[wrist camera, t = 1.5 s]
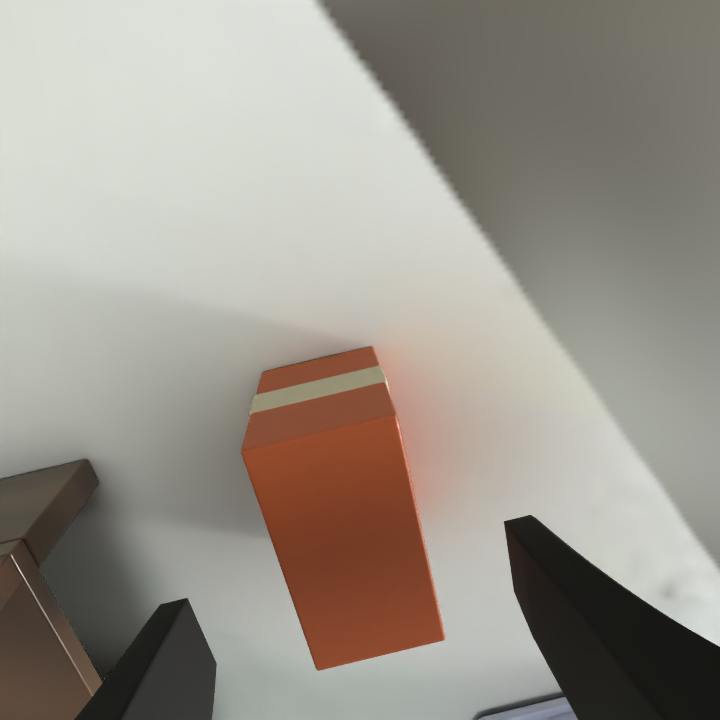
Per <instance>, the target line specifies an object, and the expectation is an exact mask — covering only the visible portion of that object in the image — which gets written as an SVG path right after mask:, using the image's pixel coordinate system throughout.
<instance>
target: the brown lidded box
mask: <svg viewBox="0 0 720 720" xmlns="http://www.w3.org/2000/svg"><path fill="white" fill-rule="evenodd" d="M97 485H98V481H97V479H96V477H95V475H94V473H93V470H92V468H91V466H90V464H89V462H88V460H86V459H85V460H81V461H77V462H73V463H69V464H64V465H60V466H56V467H52V468H48V469H43V470H39V471H35V472H31V473H27V474H22V475H18V476H14V477H10V478H6V479H2V480H0V720H74V719H75V718H76V717H77V715H78V714H79V713H80V712H81V710H82V709H83V708H84V707H85V705H86V704H87V703H88V702H89V700H90V699H91V698H92V696H93V695H94V694H95V692H96V691H97V690H98V688H99V687H100V686H101V684H102V683H103V682H102V681H101V679H100V677H99V675H98V674H97V672H96V670H95V668H94V666H93V665H92V663H91V661H90V659H89V658H88V656H87V654H86V652H85V650H84V649H83V647H82V645H81V643H80V642H79V640H78V638H77V636H76V634H75V633H74V631H73V629H72V627H71V625H70V624H69V622H68V620H67V618H66V617H65V615H64V613H63V611H62V609H61V608H60V606H59V604H58V602H57V601H56V599H55V597H54V595H53V593H52V592H51V590H50V588H49V586H48V585H47V583H46V581H45V579H44V577H43V576H42V574H41V572H40V570H39V569H38V567H39V566H41V564H42V563H43V561H44V560H45V559H46V557H47V556H48V554H49V553H50V552H51V550H52V549H53V547H54V546H55V544H56V543H57V542H58V540H59V539H60V537H61V536H62V535H63V533H64V532H65V530H66V529H67V528H68V526H69V525H70V523H71V522H72V520H73V519H74V518H75V516H76V515H77V513H78V512H79V511H80V509H81V508H82V506H83V505H84V504H85V502H86V501H87V499H88V498H89V496H90V495H91V494H92V492H93V491H94V489H95V488H96V487H97Z"/></svg>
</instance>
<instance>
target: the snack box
mask: <svg viewBox="0 0 720 720" xmlns="http://www.w3.org/2000/svg"><path fill="white" fill-rule="evenodd" d="M249 417H250V419H249V423H248V427H247V431H246V434H245V438H244V442H243V446H242V449H241V454H242V457H243V460H244V463H245V466H246V469H247V472H248V474H249V477H250V480H251V483H252V486H253V489H254V492H255V495H256V497H257V500H258V503H259V506H260V509H261V512H262V515H263V517H264V520H265V523H266V526H267V529H268V532H269V535H270V538H271V540H272V543H273V546H274V549H275V552H276V555H277V558H278V561H279V563H280V566H281V569H282V572H283V575H284V578H285V581H286V584H287V586H288V589H289V592H290V595H291V598H292V601H293V604H294V607H295V609H296V612H297V615H298V618H299V621H300V624H301V627H302V630H303V632H304V635H305V638H306V641H307V644H308V647H309V650H310V653H311V655H312V658H313V661H314V664H315V667H316V669H317V670H324V669H328V668H332V667H336V666H340V665H344V664H348V663H352V662H356V661H361V660H365V659H369V658H373V657H377V656H381V655H385V654H389V653H394V652H398V651H402V650H406V649H410V648H414V647H418V646H422V645H427V644H431V643H435V642H439V641H443V640H445V634H444V629H443V624H442V620H441V615H440V610H439V606H438V601H437V597H436V592H435V587H434V583H433V578H432V574H431V569H430V564H429V560H428V555H427V551H426V546H425V541H424V537H423V532H422V527H421V523H420V518H419V514H418V509H417V504H416V500H415V495H414V491H413V486H412V481H411V477H410V472H409V467H408V463H407V458H406V454H405V449H404V444H403V440H402V435H401V431H400V426H399V421H398V417H397V413H396V411H395V408H394V405H393V402H392V399H391V396H390V391H389V387H388V382H387V379H386V376H385V374H384V371H383V368H382V367H381V366H379V363H378V360H377V357H376V354H375V352H374V349H373V347H371V346H370V347H366V348H362V349H357V350H353V351H349V352H345V353H341V354H336V355H332V356H328V357H324V358H320V359H315V360H311V361H307V362H303V363H299V364H294V365H290V366H286V367H282V368H278V369H273V370H269V371H265V372H263V373H262V375H261V378H260V382H259V386H258V389H257V393H256V395H255V396H253V399H252V403H251V406H250V410H249Z"/></svg>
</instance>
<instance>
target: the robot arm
mask: <svg viewBox="0 0 720 720" xmlns="http://www.w3.org/2000/svg"><path fill="white" fill-rule="evenodd" d="M504 525H505V532H506V539H507V546H508V553H509V559H510V566H511V573H512V580H513V587H514V592H515V595H516V597H517V600H518V602H519V605H520V607H521V609H522V612H523V614H524V617H525V619H526V621H527V624H528V626H529V628H530V631H531V633H532V636H533V638H534V640H535V641H536V643H537V645H538V647H539V649H540V651H541V653H542V655H543V656H544V658H545V660H546V662H547V664H548V666H549V668H550V669H551V671H552V673H553V675H554V677H555V679H556V680H557V682H558V684H559V686H560V688H561V690H562V691H563V693H564V695H565V697H562V698H558V699H554V700H550V701H546V702H542V703H537V704H533V705H529V706H525V707H521V708H517V709H513V710H509V711H505V712H500V713H496V714H492V715H488V716H484V717H482V718H480V719H478V720H720V647H719V646H717V645H715V644H714V643H712V642H710V641H708V640H706V639H705V638H703V637H701V636H700V635H698V634H696V633H695V632H693V631H691V630H689V629H688V628H686V627H684V626H683V625H681V624H679V623H678V622H676V621H674V620H673V619H671V618H670V617H668V616H666V615H665V614H663V613H662V612H660V611H659V610H657V609H656V608H654V607H653V606H651V605H650V604H648V603H647V602H645V601H644V600H642V599H641V598H639V597H638V596H636V595H635V594H633V593H632V592H630V591H629V590H627V589H626V588H625V587H623V586H622V585H620V584H619V583H617V582H616V581H615V580H613V579H612V578H611V577H609V576H608V575H607V574H605V573H604V572H602V571H601V570H600V569H598V568H597V567H596V566H594V565H593V564H592V563H590V562H589V561H588V560H586V559H585V558H584V557H583V556H581V555H580V554H579V553H577V552H576V551H575V550H574V549H572V548H571V547H570V546H569V545H567V544H566V543H565V542H564V541H562V540H561V539H560V538H559V537H558V536H556V535H555V534H554V533H553V532H552V531H550V530H549V529H548V528H547V527H546V526H545V525H543V524H542V523H541V522H540V521H539V520H537V519H536V518H535V517H533V516H532V515H528V516H524V517H520V518H516V519H512V520H508V521H504ZM215 678H216V661H215V659H214V657H213V655H212V652H211V650H210V648H209V646H208V643H207V641H206V639H205V637H204V634H203V632H202V630H201V628H200V625H199V623H198V621H197V619H196V616H195V614H194V612H193V610H192V607H191V605H190V603H189V601H188V598H185V599H181V600H177V601H173V602H169V603H164V604H161V605H160V606H159V607H158V608H157V610H156V611H155V612H154V614H153V615H152V616H151V618H150V619H149V620H148V622H147V623H146V624H145V626H144V627H143V629H142V630H141V631H140V633H139V634H138V635H137V637H136V638H135V640H134V641H133V642H132V644H131V645H130V646H129V648H128V649H127V651H126V652H125V653H124V655H123V656H122V657H121V659H120V660H119V662H118V663H117V664H116V666H115V667H114V668H113V670H112V671H111V672H110V674H109V675H108V676H107V678H106V679H105V680H104V682H103V683H102V684H101V686H100V687H99V688H98V690H97V691H96V692H95V694H94V695H93V696H92V698H91V699H90V700H89V702H88V703H87V704H86V705H85V707H84V708H83V709H82V710H81V712H80V713H79V714H78V715H77V717H76V718H75V719H74V720H211V719H212V712H213V702H214V692H215Z"/></svg>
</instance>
